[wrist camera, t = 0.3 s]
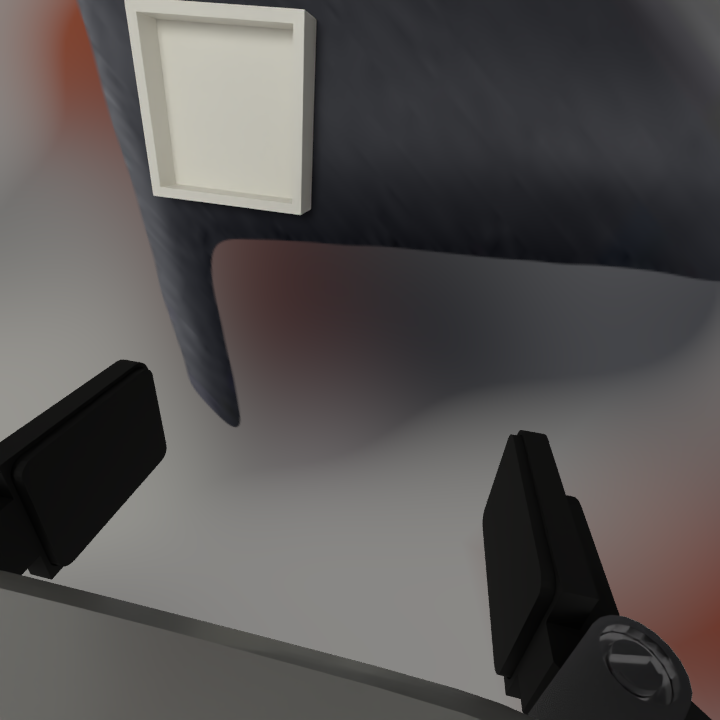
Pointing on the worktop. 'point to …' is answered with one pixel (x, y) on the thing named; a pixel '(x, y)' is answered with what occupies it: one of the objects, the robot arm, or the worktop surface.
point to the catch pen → (226, 101)
